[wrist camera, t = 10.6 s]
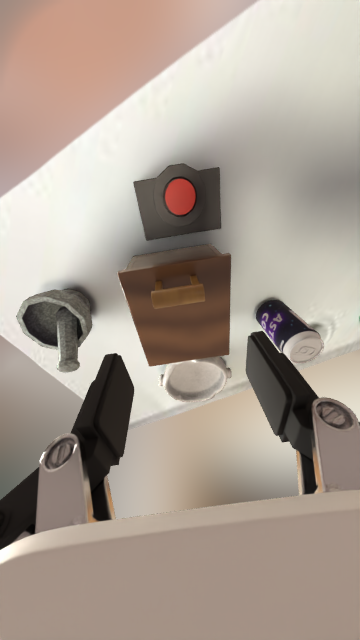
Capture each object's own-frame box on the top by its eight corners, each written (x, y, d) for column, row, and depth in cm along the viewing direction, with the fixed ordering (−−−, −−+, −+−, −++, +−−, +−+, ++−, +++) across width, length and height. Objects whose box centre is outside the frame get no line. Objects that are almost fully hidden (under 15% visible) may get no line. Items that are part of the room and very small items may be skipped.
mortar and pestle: (31, 297, 33) (-30, 340, 23) (69, 268, 30) (20, 301, 20) (81, 339, 38) (50, 389, 28) (116, 317, 36) (97, 362, 26)
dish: (153, 373, 45) (151, 391, 40) (188, 334, 39) (191, 350, 35) (199, 394, 50) (202, 411, 46) (236, 362, 44) (244, 379, 40)
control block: (216, 161, 24) (223, 156, 22) (218, 227, 29) (224, 229, 26) (133, 176, 25) (129, 172, 22) (147, 238, 29) (145, 242, 26)
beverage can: (262, 294, 35) (301, 332, 25) (288, 301, 36) (335, 339, 26) (249, 319, 38) (279, 362, 28) (273, 324, 39) (310, 367, 29)
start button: (192, 177, 23) (194, 176, 21) (195, 211, 25) (197, 212, 23) (162, 182, 23) (162, 181, 21) (168, 216, 25) (168, 217, 23)
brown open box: (133, 256, 30) (121, 275, 22) (211, 243, 30) (227, 258, 22) (153, 329, 38) (149, 362, 30) (214, 320, 38) (227, 351, 30)
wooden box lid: (118, 270, 21) (105, 292, 17) (229, 252, 21) (246, 269, 16) (149, 362, 30) (147, 392, 26) (227, 351, 30) (239, 379, 25)
